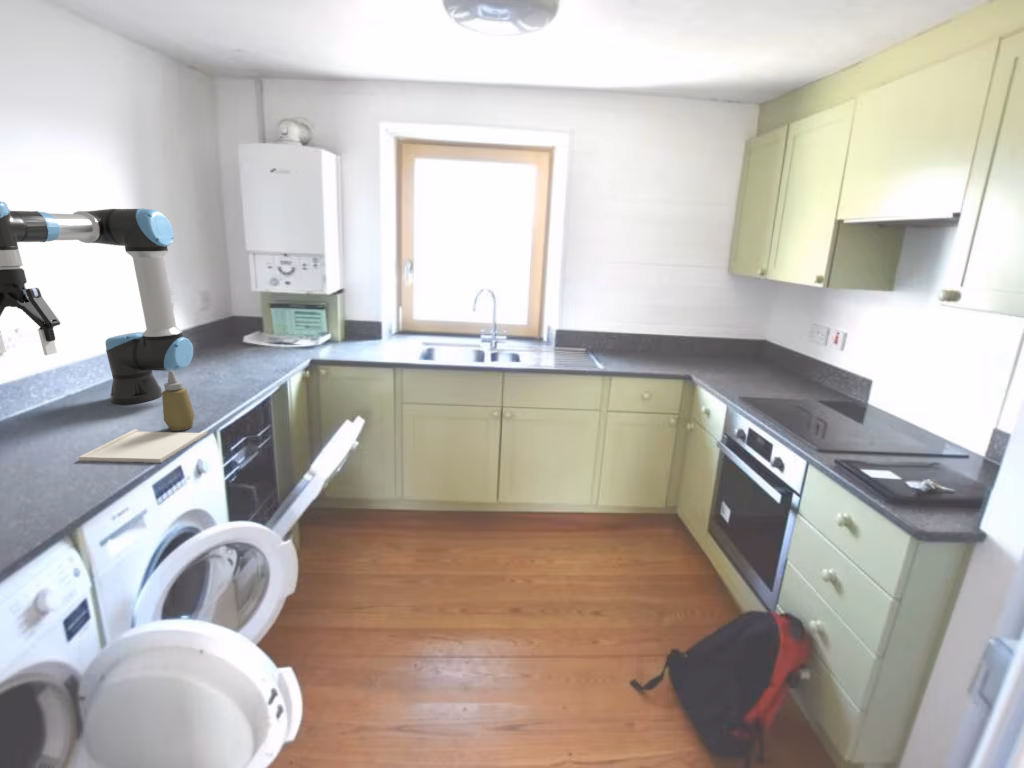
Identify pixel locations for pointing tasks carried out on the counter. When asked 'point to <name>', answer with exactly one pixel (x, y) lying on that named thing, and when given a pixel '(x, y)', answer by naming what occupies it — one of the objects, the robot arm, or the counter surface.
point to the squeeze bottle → (177, 405)
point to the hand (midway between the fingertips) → (25, 353)
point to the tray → (143, 447)
